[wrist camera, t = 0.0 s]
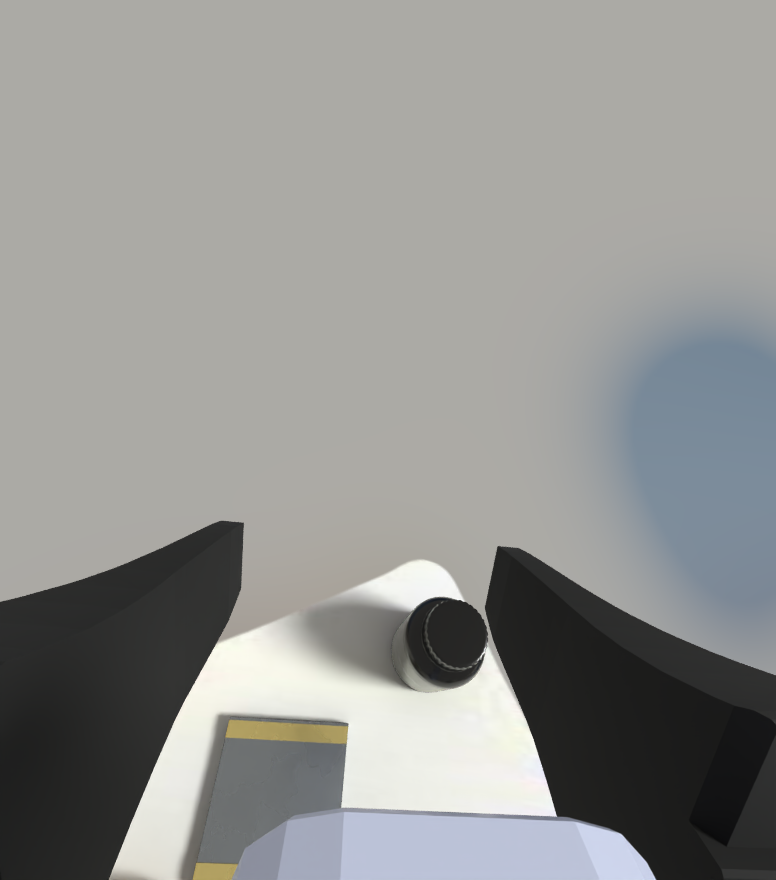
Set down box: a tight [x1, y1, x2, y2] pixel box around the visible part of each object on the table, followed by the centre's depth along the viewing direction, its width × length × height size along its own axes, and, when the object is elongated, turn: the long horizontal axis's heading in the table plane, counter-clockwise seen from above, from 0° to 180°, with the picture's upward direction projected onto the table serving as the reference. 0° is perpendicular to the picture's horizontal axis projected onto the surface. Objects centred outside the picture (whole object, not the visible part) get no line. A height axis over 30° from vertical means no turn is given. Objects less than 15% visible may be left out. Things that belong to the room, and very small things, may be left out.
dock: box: [193, 717, 348, 880], centre depth 31 cm, size 10×10×1 cm
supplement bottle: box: [391, 597, 488, 693], centre depth 34 cm, size 7×7×12 cm
